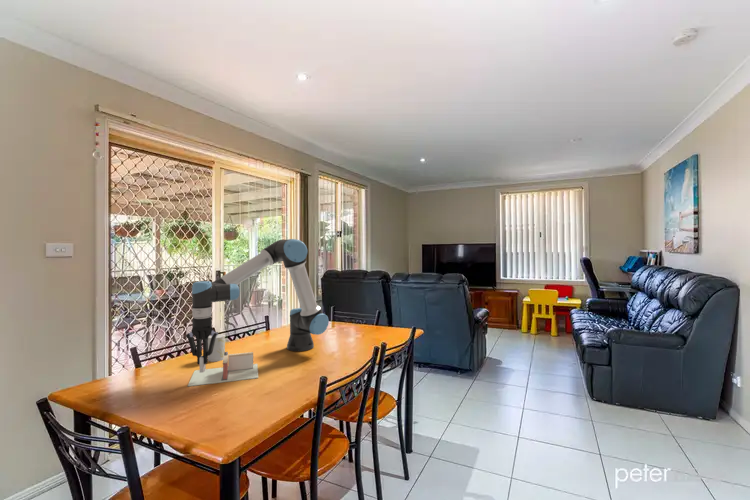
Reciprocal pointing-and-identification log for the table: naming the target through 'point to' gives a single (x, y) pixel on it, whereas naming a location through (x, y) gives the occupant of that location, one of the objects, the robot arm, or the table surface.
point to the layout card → (217, 376)
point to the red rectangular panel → (225, 366)
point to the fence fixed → (239, 361)
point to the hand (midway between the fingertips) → (202, 371)
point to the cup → (217, 348)
